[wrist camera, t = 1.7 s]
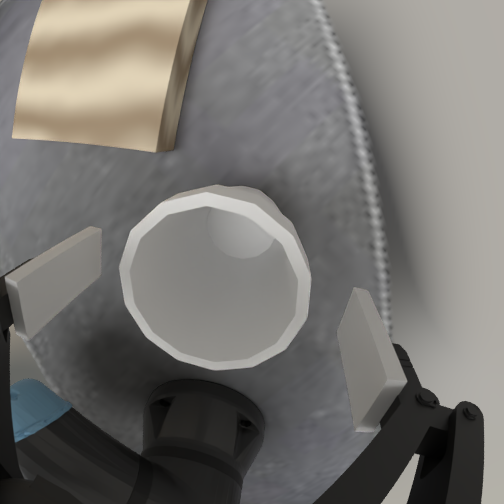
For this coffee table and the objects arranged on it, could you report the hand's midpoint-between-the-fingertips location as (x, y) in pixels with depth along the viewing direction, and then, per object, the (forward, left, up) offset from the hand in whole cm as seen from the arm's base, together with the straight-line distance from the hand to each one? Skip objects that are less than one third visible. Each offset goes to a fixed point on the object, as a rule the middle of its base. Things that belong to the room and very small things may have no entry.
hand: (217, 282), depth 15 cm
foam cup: (0, 0, -13) cm, 13 cm away
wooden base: (+13, +15, -12) cm, 23 cm away
